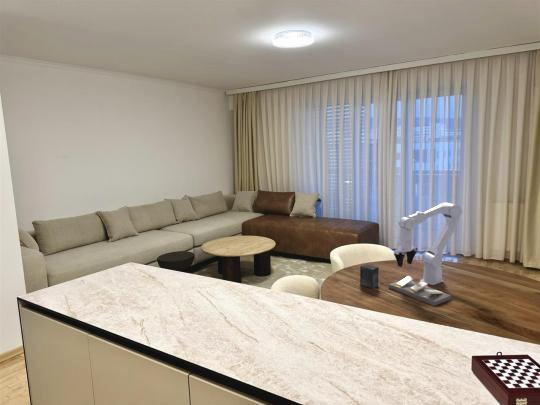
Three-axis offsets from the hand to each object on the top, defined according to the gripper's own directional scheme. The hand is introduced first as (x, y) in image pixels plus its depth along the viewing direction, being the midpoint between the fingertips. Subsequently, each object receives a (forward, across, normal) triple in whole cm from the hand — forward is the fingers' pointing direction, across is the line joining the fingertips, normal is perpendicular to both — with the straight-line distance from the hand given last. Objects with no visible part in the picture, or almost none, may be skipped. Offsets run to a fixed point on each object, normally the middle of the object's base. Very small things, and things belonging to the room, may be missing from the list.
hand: (404, 265), depth 189 cm
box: (+11, +17, -9) cm, 22 cm away
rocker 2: (+7, +4, +12) cm, 15 cm away
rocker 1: (+7, +4, +4) cm, 9 cm away
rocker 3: (+7, +4, +20) cm, 22 cm away
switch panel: (+10, +4, +12) cm, 17 cm away
